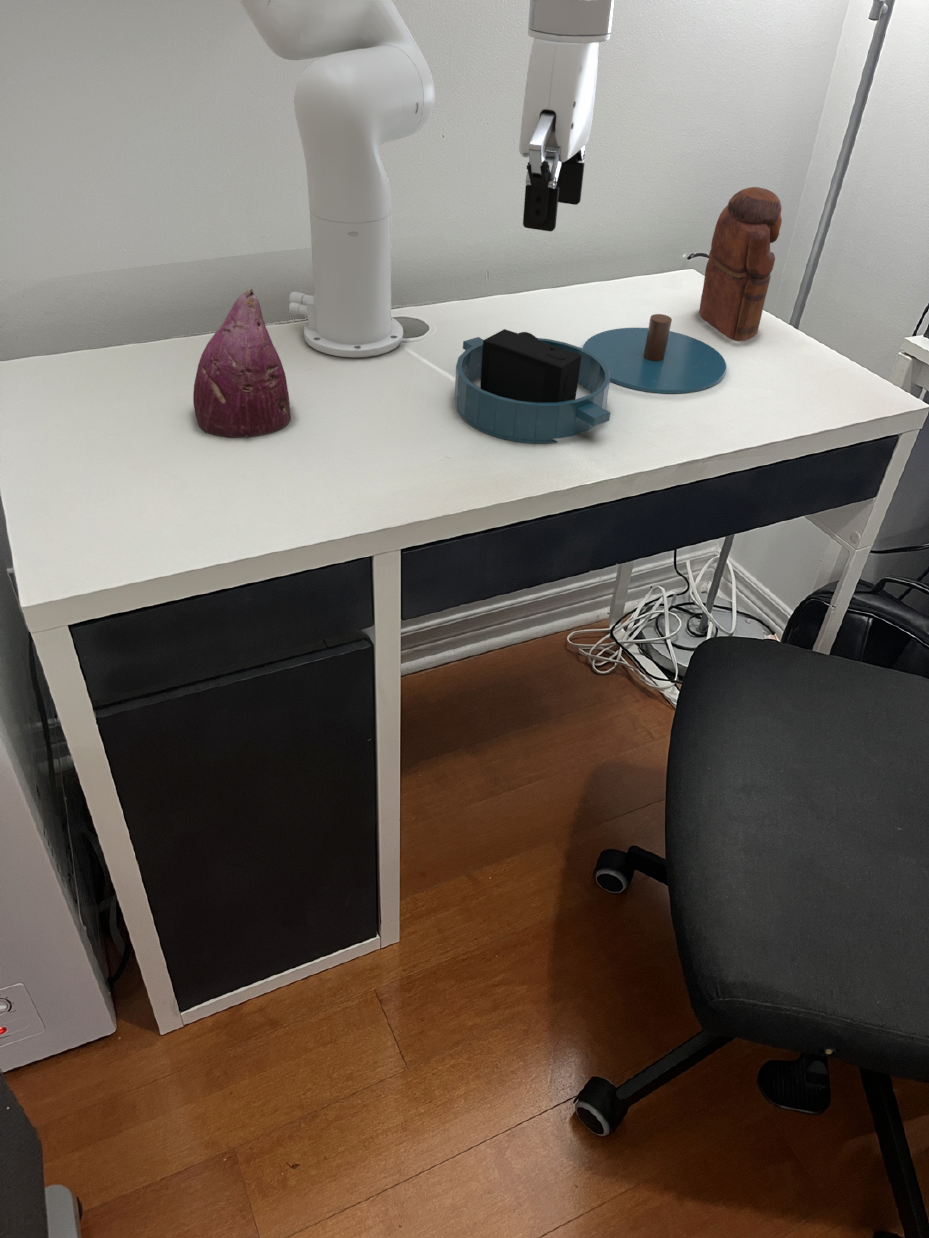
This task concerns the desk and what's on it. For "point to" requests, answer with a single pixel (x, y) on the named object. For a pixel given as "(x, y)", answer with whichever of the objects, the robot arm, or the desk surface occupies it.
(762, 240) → the wooden figurine
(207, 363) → the vegetable
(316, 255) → the robot arm
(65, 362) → the desk surface
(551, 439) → the tin
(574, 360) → the digital camera
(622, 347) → the tin lid
